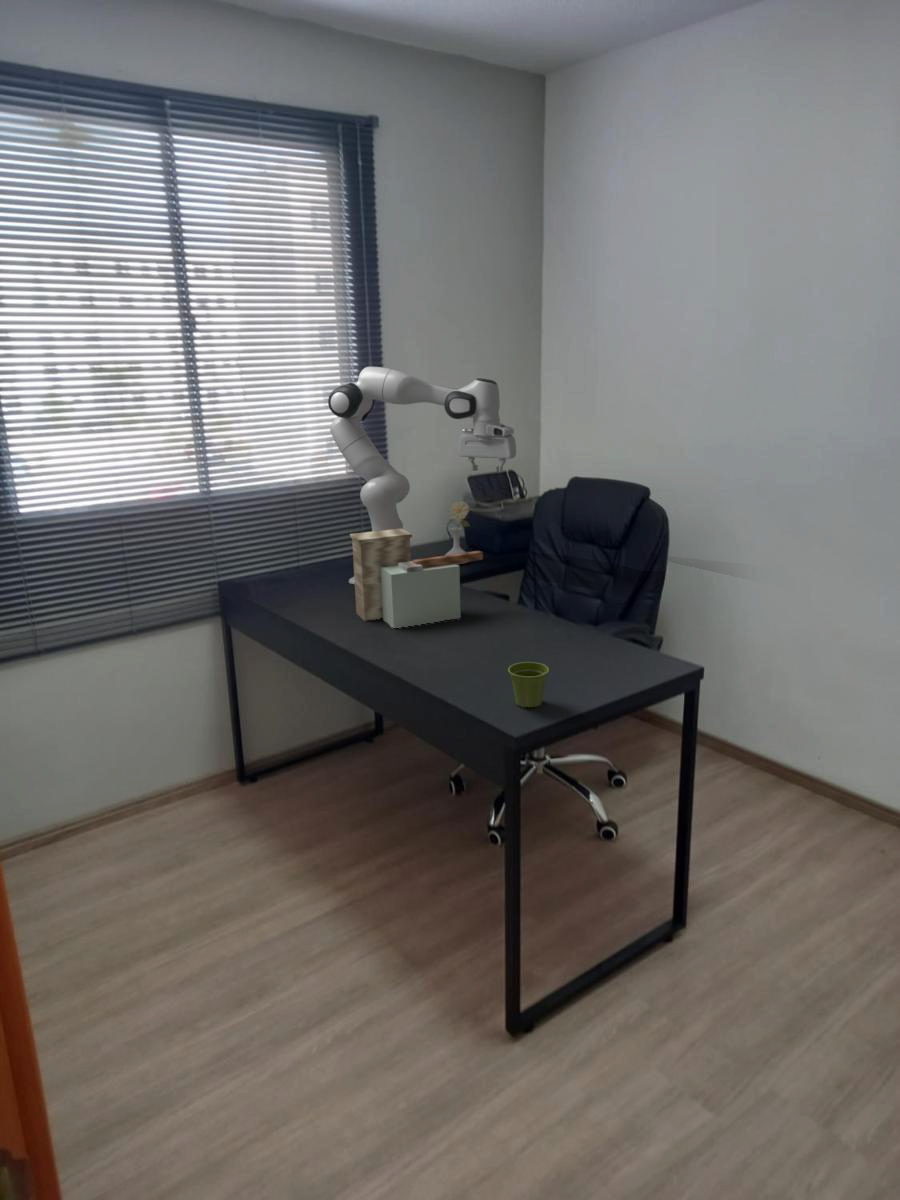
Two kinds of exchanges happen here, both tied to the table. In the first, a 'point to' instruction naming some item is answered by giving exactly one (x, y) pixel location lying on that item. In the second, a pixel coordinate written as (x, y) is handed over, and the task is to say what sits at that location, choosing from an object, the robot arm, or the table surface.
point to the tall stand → (376, 566)
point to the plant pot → (528, 682)
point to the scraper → (440, 561)
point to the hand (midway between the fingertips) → (487, 471)
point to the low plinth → (420, 595)
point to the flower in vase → (457, 513)
